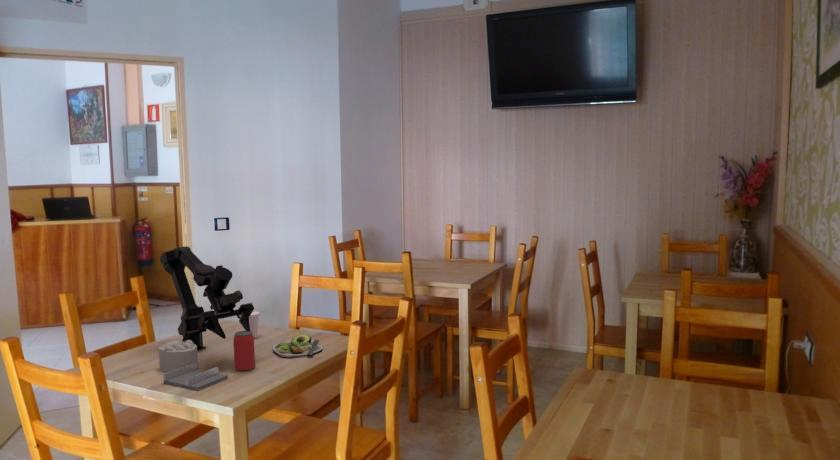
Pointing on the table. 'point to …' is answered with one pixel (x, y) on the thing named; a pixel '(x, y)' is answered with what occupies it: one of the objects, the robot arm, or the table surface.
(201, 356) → the table surface
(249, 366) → the beer can
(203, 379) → the rail board
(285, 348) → the salad plate
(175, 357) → the paw print puck
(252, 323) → the smoothie
